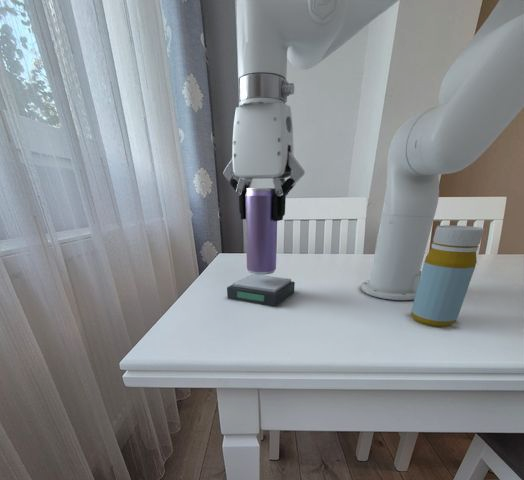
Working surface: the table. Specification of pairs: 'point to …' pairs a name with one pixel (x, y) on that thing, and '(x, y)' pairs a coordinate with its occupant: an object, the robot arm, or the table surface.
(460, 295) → the bottle
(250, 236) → the beverage can
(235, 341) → the table surface
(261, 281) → the scale
